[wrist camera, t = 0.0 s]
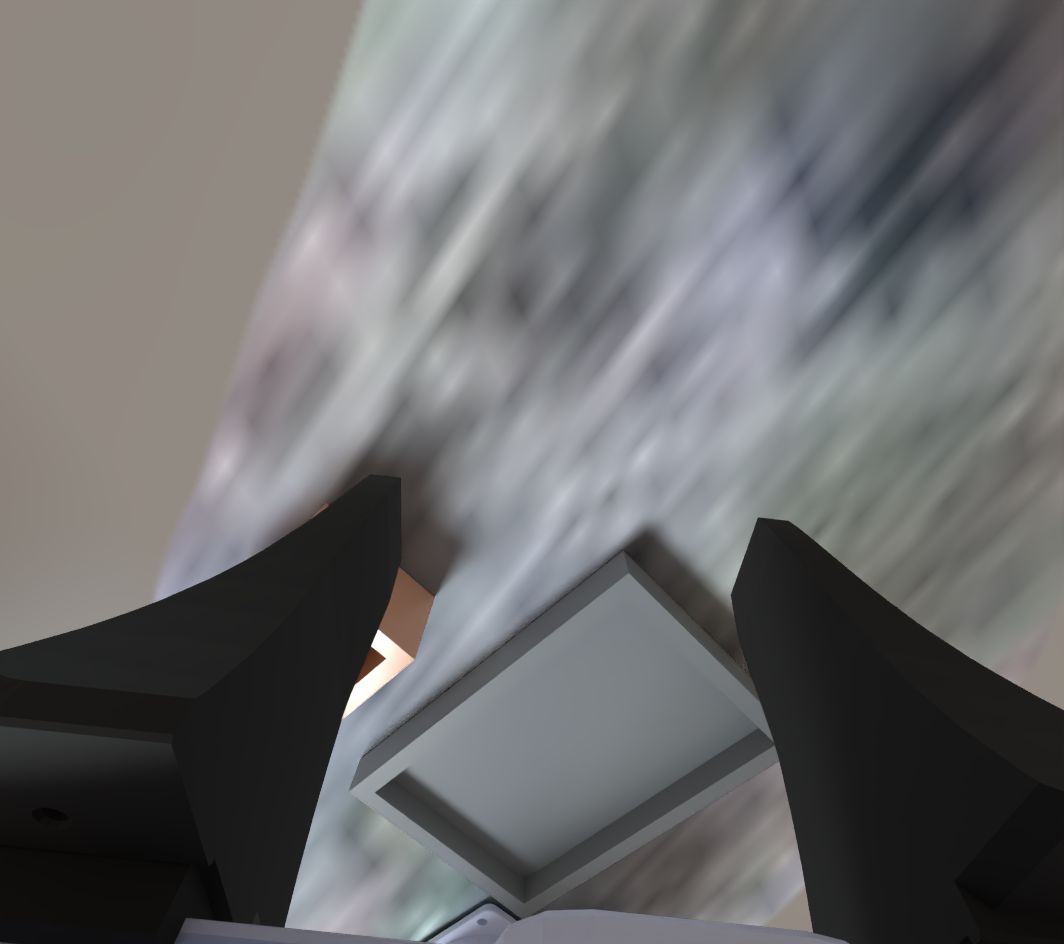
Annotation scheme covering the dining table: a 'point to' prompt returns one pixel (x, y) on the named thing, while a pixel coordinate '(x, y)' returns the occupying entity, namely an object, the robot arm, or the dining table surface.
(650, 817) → the tray
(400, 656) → the open box
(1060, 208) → the dining table surface
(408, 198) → the dining table surface
